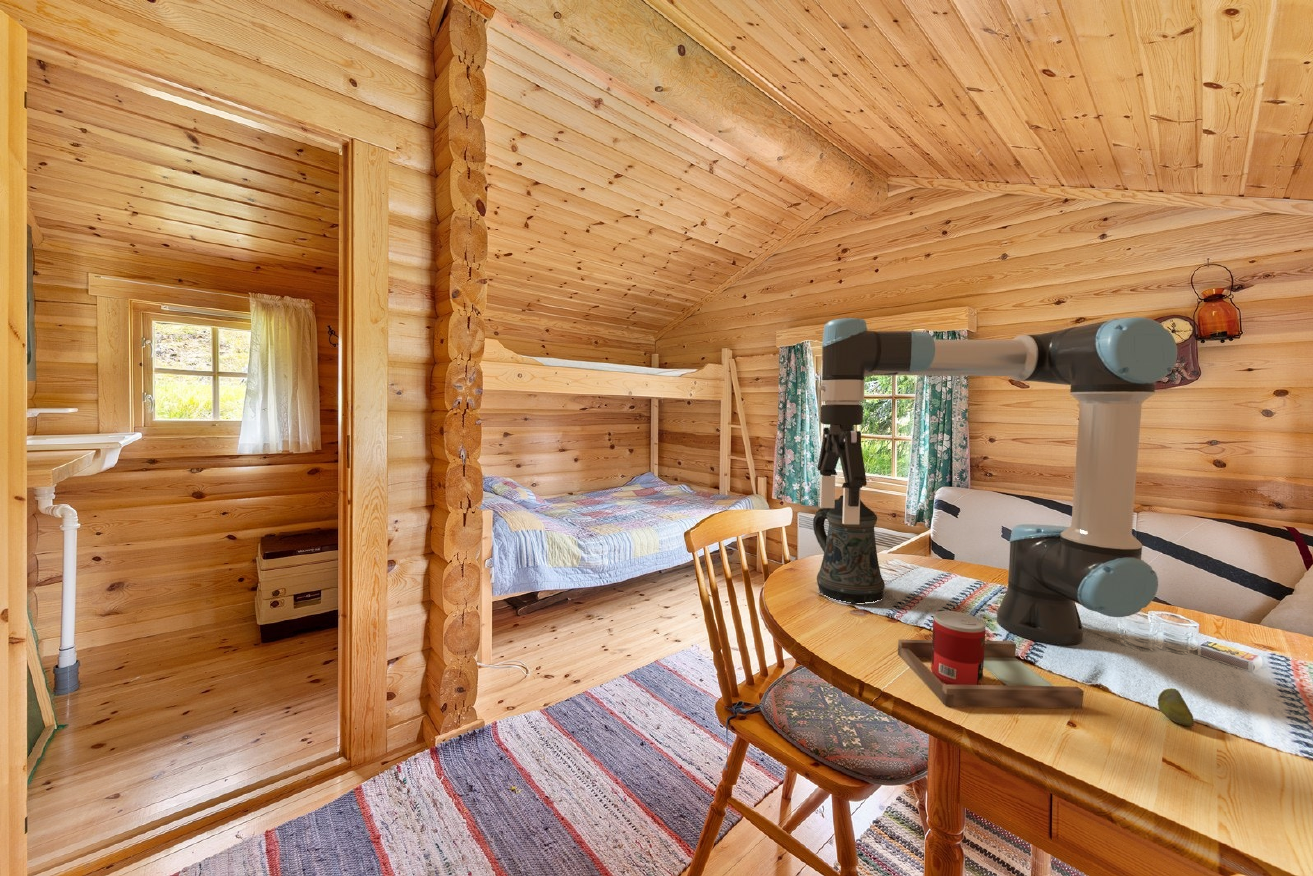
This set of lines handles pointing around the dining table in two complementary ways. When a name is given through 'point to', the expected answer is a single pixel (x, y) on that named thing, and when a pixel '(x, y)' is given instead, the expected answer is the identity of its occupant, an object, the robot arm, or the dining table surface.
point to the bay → (1001, 662)
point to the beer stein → (848, 556)
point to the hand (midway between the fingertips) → (838, 515)
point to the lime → (1175, 707)
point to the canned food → (958, 648)
